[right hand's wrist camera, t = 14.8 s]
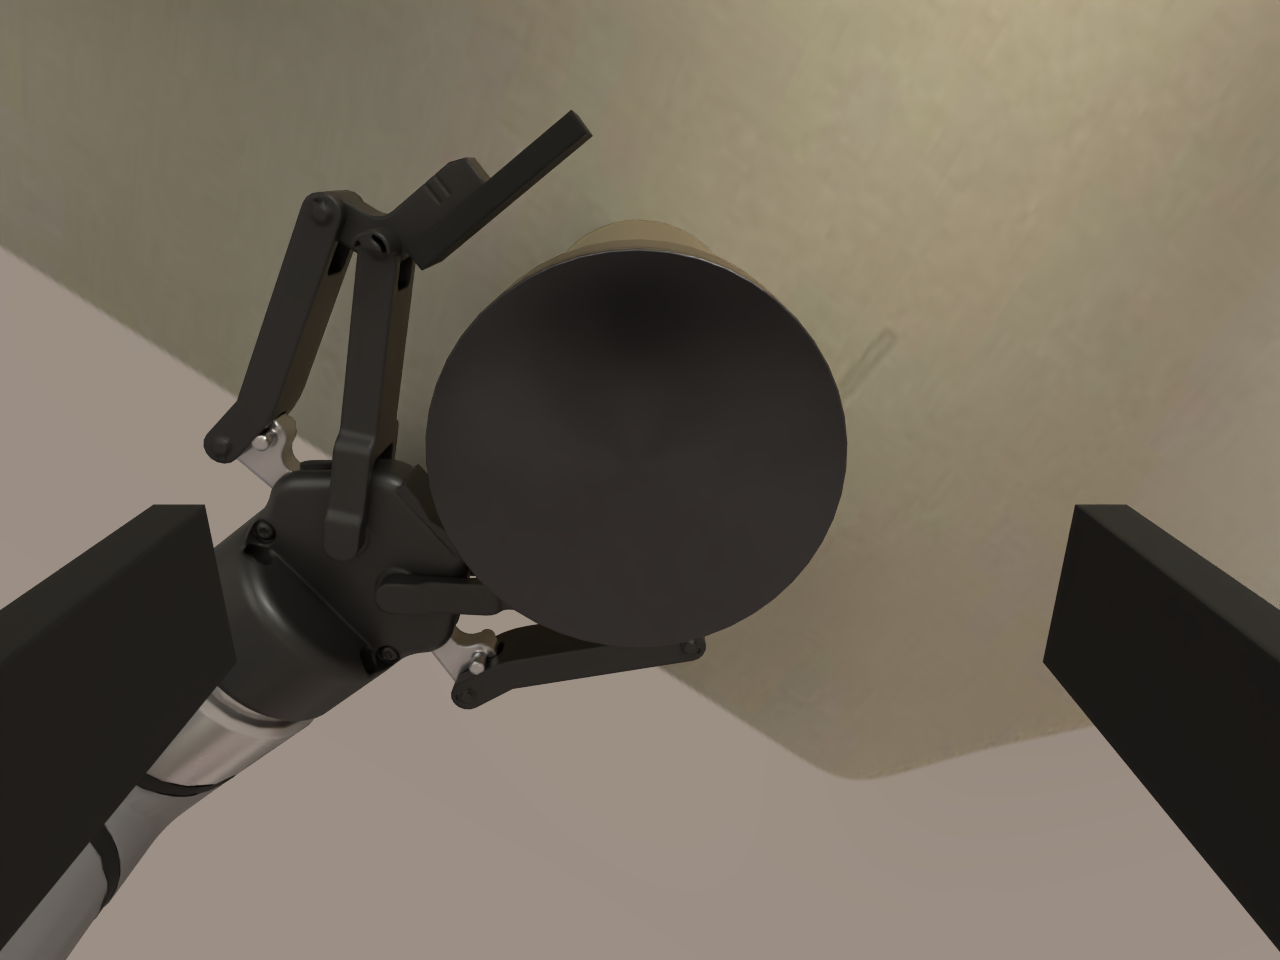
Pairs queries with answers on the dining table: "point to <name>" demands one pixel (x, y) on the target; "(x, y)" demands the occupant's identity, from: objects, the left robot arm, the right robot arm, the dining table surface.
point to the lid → (636, 444)
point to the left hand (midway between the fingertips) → (712, 302)
